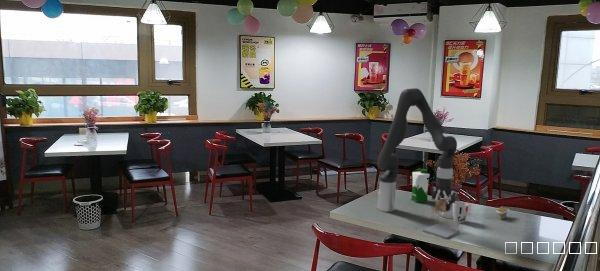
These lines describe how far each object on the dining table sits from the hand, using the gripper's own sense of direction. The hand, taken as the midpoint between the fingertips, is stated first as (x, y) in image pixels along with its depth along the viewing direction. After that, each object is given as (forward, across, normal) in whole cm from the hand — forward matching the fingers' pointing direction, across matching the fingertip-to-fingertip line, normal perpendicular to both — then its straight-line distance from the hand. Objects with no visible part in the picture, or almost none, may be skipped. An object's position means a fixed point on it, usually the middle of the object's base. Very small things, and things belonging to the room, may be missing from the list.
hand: (442, 209), depth 217 cm
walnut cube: (0, 0, 0) cm, 0 cm away
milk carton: (+12, -37, +39) cm, 55 cm away
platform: (+13, +11, +46) cm, 49 cm away
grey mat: (+12, 0, 0) cm, 12 cm away
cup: (+12, -2, +23) cm, 26 cm away
